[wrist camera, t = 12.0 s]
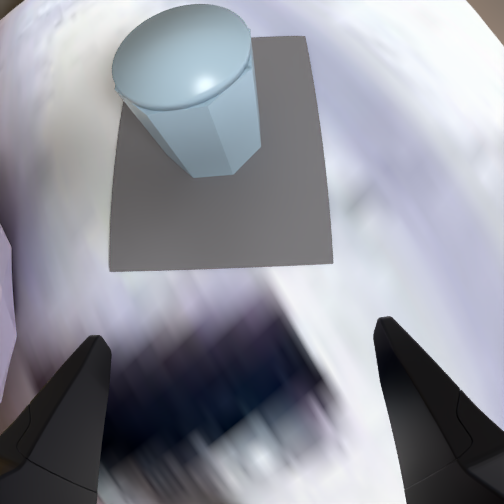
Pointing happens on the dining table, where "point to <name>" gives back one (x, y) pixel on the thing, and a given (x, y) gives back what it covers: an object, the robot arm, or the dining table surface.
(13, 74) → the dining table surface
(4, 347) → the fruit bowl
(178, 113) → the dome-topped octagonal prism
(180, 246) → the placemat
